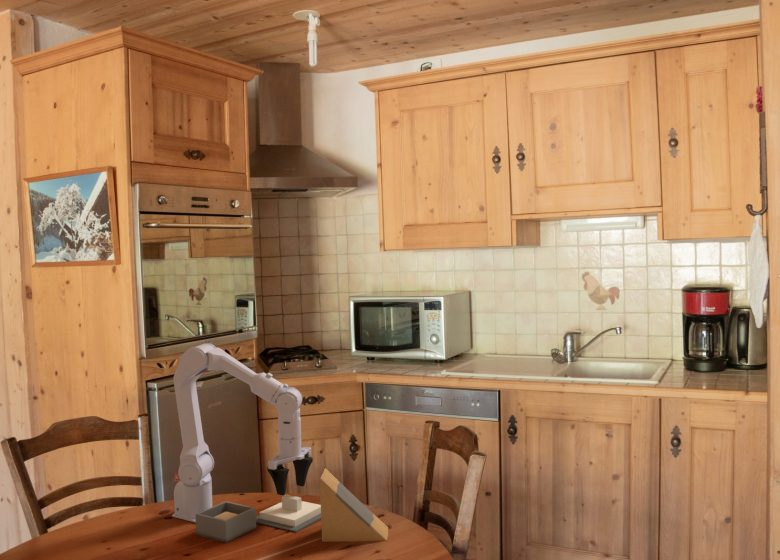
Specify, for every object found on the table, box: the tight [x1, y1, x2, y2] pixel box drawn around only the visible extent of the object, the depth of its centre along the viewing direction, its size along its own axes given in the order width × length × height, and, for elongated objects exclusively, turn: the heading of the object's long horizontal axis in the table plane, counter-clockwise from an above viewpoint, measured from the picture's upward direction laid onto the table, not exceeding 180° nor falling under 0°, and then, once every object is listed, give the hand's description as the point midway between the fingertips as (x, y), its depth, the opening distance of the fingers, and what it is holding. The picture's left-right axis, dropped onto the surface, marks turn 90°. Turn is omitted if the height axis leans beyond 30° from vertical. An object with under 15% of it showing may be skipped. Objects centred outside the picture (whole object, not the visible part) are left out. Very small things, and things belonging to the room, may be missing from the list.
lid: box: [259, 494, 321, 527], centre depth 178 cm, size 11×11×5 cm
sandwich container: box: [319, 468, 389, 542], centre depth 166 cm, size 9×15×15 cm, turn 88°
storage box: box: [195, 500, 257, 543], centre depth 170 cm, size 10×10×5 cm
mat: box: [256, 513, 321, 533], centre depth 178 cm, size 15×15×1 cm
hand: (291, 490), depth 178 cm, fingers open, 7 cm apart
